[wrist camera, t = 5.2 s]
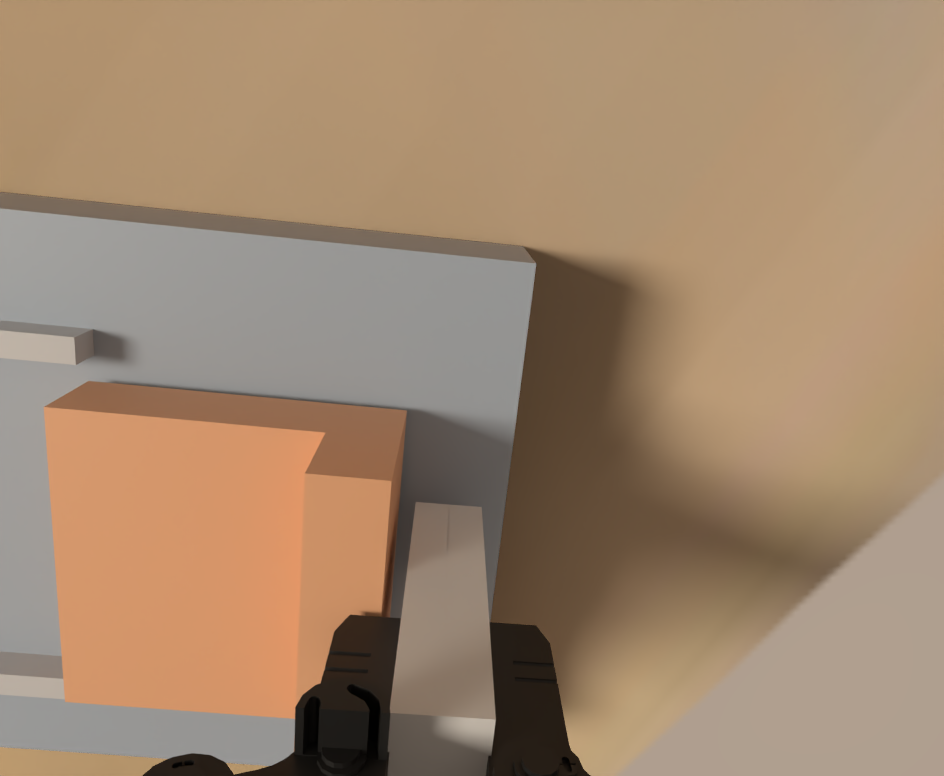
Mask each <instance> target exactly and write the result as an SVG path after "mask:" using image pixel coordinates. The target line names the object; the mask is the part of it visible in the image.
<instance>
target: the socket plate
mask: <svg viewBox="0 0 944 776" xmlns="http://www.w3.org/2000/svg"><path fill="white" fill-rule="evenodd" d="M535 270H536V263H535V261H534V260H533V259H532V257H531V256H530V255H529V253H528V252H527V251H526V250H525V248H524V247H523V246H515V245H506V244H496V243H487V242H477V241H467V240H458V239H448V238H438V237H429V236H419V235H410V234H400V233H390V232H381V231H371V230H361V229H352V228H342V227H332V226H323V225H313V224H304V223H294V222H284V221H275V220H265V219H255V218H246V217H236V216H226V215H217V214H207V213H198V212H188V211H178V210H169V209H159V208H149V207H140V206H130V205H120V204H111V203H101V202H92V201H82V200H72V199H63V198H53V197H43V196H34V195H24V194H14V193H5V192H0V747H8V748H23V749H37V750H51V751H65V752H79V753H94V754H108V755H122V756H136V757H151V758H165V759H169V758H171V757H175V756H180V755H185V754H190V753H196V754H206V755H212V756H214V757H216V758H218V759H220V760H222V761H224V762H225V763H236V764H250V765H265V766H272V765H274V764H276V763H278V762H280V761H282V760H284V759H285V758H287V757H288V756H289V755H290V754H292V753H293V752H294V736H295V719H290V718H276V717H262V716H249V715H235V714H221V713H208V712H194V711H180V710H167V709H153V708H139V707H126V706H112V705H99V704H85V703H71V702H65V695H64V681H63V668H62V654H61V640H60V626H59V612H58V598H57V585H56V571H55V557H54V543H53V529H52V516H51V502H50V488H49V474H48V460H47V447H46V433H45V419H44V406H46V405H48V404H50V403H51V402H53V401H55V400H57V399H58V398H60V397H62V396H63V395H65V394H67V393H69V392H70V391H72V390H74V389H76V388H77V387H79V386H81V385H82V384H84V383H86V382H88V381H95V382H106V383H117V384H127V385H138V386H149V387H160V388H171V389H181V390H192V391H203V392H214V393H224V394H235V395H246V396H257V397H267V398H278V399H289V400H300V401H311V402H321V403H332V404H343V405H354V406H364V407H375V408H386V409H397V410H407V416H406V428H405V440H404V453H403V465H402V477H401V489H400V502H399V514H398V526H397V538H396V550H395V563H394V575H393V587H392V599H391V612H390V617H391V618H401V615H402V607H403V599H404V591H405V583H406V575H407V567H408V560H409V552H410V544H411V536H412V528H413V520H414V512H415V504H416V502H424V503H437V504H450V505H463V506H476V507H482V519H483V534H484V549H485V564H486V579H487V594H488V610H489V622H490V620H491V612H492V604H493V596H494V589H495V581H496V573H497V565H498V558H499V550H500V542H501V534H502V526H503V519H504V511H505V503H506V495H507V488H508V480H509V472H510V464H511V457H512V449H513V441H514V433H515V426H516V418H517V410H518V402H519V394H520V387H521V379H522V371H523V363H524V356H525V348H526V340H527V332H528V325H529V317H530V309H531V301H532V293H533V286H534V278H535Z"/></svg>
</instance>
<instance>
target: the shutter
mask: <svg viewBox="0 0 944 776" xmlns="http://www.w3.org/2000/svg"><path fill="white" fill-rule="evenodd" d="M406 416H407V410H397V409H386V408H375V407H364V406H354V405H343V404H332V403H321V402H311V401H300V400H289V399H278V398H267V397H257V396H246V395H235V394H224V393H214V392H203V391H192V390H181V389H171V388H160V387H149V386H138V385H127V384H117V383H106V382H95V381H88V382H86V383H84V384H82V385H81V386H79V387H77V388H76V389H74V390H72V391H70V392H69V393H67V394H65V395H63V396H62V397H60V398H58V399H57V400H55V401H53V402H51V403H50V404H48V405H46V406H44V419H45V433H46V447H47V460H48V474H49V488H50V502H51V516H52V529H53V543H54V557H55V571H56V585H57V598H58V612H59V626H60V640H61V654H62V668H63V681H64V695H65V702H71V703H85V704H99V705H112V706H126V707H139V708H153V709H167V710H180V711H194V712H208V713H221V714H235V715H249V716H262V717H276V718H290V719H295V707H296V705H297V704H298V702H299V700H300V698H301V697H302V695H303V694H304V693H306V692H307V691H308V690H310V689H311V688H312V687H314V686H315V685H317V684H320V683H321V680H322V676H323V672H324V670H325V665H326V661H327V657H328V654H329V650H330V646H331V642H332V638H333V634H334V631H335V630H336V629H337V628H338V627H339V626H340V625H341V624H342V622H343V621H344V620H345V619H346V618H347V617H348V616H349V615H363V616H377V617H390V612H391V599H392V587H393V575H394V563H395V550H396V538H397V526H398V514H399V502H400V489H401V477H402V465H403V453H404V440H405V428H406ZM294 739H295V736H294Z"/></svg>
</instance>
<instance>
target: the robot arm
mask: <svg viewBox="0 0 944 776" xmlns="http://www.w3.org/2000/svg"><path fill="white" fill-rule="evenodd" d="M143 776H590V775H589V774H588V773H587V772H586V771H585V770H584V769H583V767H582V765H581V763H580V760H579V758H578V757H577V756H576V755H575V754H574V753H573V752H572V751H571V749H570V746H569V742H568V737H567V732H566V726H565V721H564V716H563V710H562V705H561V700H560V694H559V689H558V684H557V679H556V673H555V668H554V663H553V657H552V652H551V647H550V643H549V642H548V641H547V639H546V638H545V637H544V635H543V634H542V633H541V632H540V630H539V629H538V628H537V627H536V626H534V625H519V624H505V623H490V622H489V610H488V594H487V579H486V564H485V549H484V534H483V519H482V507H476V506H463V505H450V504H437V503H424V502H416V504H415V512H414V520H413V528H412V536H411V544H410V552H409V560H408V567H407V575H406V583H405V591H404V599H403V607H402V615H401V618H391V617H377V616H363V615H349V616H348V617H347V618H346V619H345V620H344V621H343V622H342V624H341V625H340V626H339V627H338V628H337V629H336V630H335V631H334V634H333V638H332V642H331V646H330V650H329V654H328V657H327V661H326V665H325V670H324V672H323V676H322V680H321V683H320V684H317V685H315V686H314V687H312V688H311V689H310V690H308V691H307V692H306V693H304V694H303V695H302V697H301V698H300V700H299V702H298V704H297V705H296V707H295V739H294V752H293V753H292V754H290V755H289V756H288V757H287V758H285V759H284V760H282V761H280V762H278V763H276V764H274V765H272V766H268V767H265V768H262V769H259V770H254V771H250V772H245V773H240V774H235V775H233V772H232V771H231V770H230V768H229V767H228V766H227V764H226V763H225V762H224V761H222V760H220V759H218V758H216V757H214V756H212V755H206V754H196V753H190V754H185V755H180V756H175V757H171V758H169V759H167V760H165V761H163V762H161V763H159V764H157V765H155V766H153V767H152V768H151V769H150V770H149V771H147V772H146V773H145V774H144V775H143Z"/></svg>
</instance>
